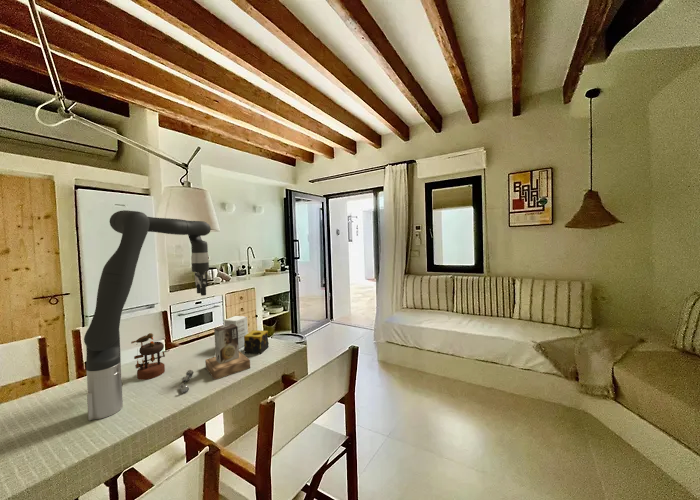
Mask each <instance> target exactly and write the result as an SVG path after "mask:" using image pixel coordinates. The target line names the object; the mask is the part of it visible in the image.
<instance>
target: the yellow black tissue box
mask: <svg viewBox="0 0 700 500" xmlns="http://www.w3.org/2000/svg"><path fill="white" fill-rule="evenodd" d="M268 334H269V331H268V330H257V329H256V330H255V329H253V330H251V331H249V332H248V334H247V335H245V336H244V346H243V350H244V355H245V354H250V355H261V354H263V353H264V352H266V350H267V349H268V348H269V344H270V343H269V335H268Z"/></svg>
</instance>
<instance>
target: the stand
mask: <svg viewBox="0 0 700 500" xmlns="http://www.w3.org/2000/svg"><path fill="white" fill-rule="evenodd" d="M205 368H206V370H207V371H208V372H209V374H210V375H211V377H212V378H213V380H218V379H221V378H224V377H227V376H230V375H233V374H236V373H239V372H240V373H241V372H243V371H246V370H249V369H251V359H250V358H248V357H247V356H246V355H245V354H243V353H242V352H241V351H240V350H239V358H237V359H234V360H231V361H228V362H225V363H223V364H220V363H218V362H217V361H216V356H214V357H211V358H206V359H205Z"/></svg>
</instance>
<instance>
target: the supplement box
mask: <svg viewBox="0 0 700 500" xmlns="http://www.w3.org/2000/svg"><path fill="white" fill-rule="evenodd" d="M223 322H224V323H223V326H225V325H229V324H234V325H236V326H238V346H239V349H241V348H244V336H245V335H247V334H248V333H249V329H248V327H249V326H248V316H243V315H234V316H230V317H228V318H226V319H224V320H223Z"/></svg>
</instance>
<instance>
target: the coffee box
mask: <svg viewBox="0 0 700 500" xmlns="http://www.w3.org/2000/svg"><path fill="white" fill-rule="evenodd" d="M213 331H214V350H215V357H216V361H217V362H218V363H220V364H223V363H225V362H228V361H231V360H234V359H237V358H239V351H240V350H239V349H240V348H239V346H238V326H236V325H234V324H229V325H225V326H224V325H222V326H219V327H214V330H213Z"/></svg>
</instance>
